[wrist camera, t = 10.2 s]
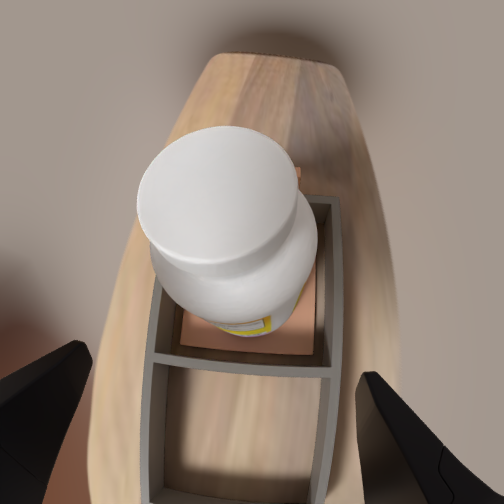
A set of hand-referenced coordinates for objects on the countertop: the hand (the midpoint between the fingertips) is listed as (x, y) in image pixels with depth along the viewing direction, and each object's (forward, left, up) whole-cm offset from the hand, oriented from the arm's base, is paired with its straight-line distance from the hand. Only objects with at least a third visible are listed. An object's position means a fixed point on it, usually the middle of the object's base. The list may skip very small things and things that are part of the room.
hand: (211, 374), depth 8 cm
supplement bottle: (+5, -2, -11) cm, 12 cm away
